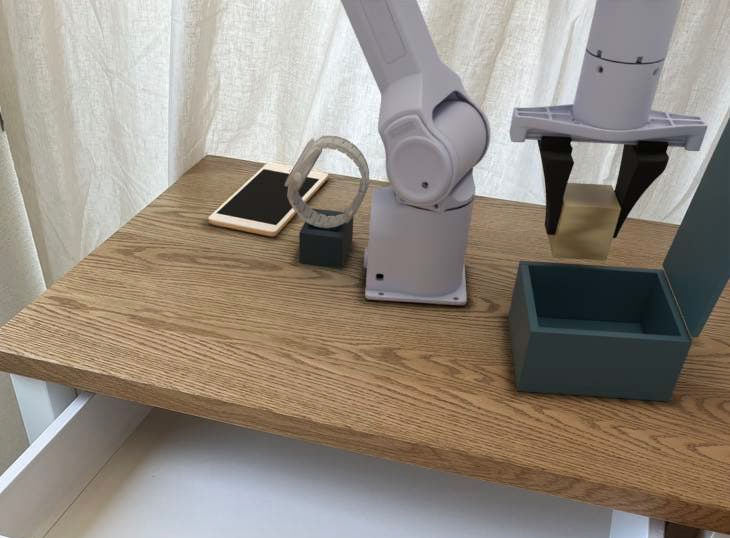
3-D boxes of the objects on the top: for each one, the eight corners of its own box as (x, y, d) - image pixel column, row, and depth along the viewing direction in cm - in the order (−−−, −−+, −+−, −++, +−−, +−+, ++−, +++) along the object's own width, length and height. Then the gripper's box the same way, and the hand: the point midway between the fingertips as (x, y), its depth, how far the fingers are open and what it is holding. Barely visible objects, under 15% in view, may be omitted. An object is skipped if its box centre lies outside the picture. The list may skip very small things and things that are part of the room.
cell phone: (329, 178, 96) (329, 173, 96) (274, 237, 86) (274, 231, 85) (267, 167, 98) (267, 161, 98) (207, 223, 87) (206, 218, 87)
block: (552, 257, 70) (564, 205, 66) (546, 233, 73) (558, 182, 70) (606, 260, 69) (621, 208, 66) (598, 236, 73) (612, 184, 69)
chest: (516, 391, 68) (530, 331, 64) (507, 317, 76) (519, 260, 72) (668, 401, 68) (692, 341, 64) (643, 326, 76) (663, 269, 71)
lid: (780, 163, 54) (789, 165, 54) (735, 102, 62) (743, 103, 62) (690, 337, 63) (698, 338, 63) (661, 264, 71) (668, 265, 71)
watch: (293, 235, 86) (292, 124, 79) (369, 244, 85) (376, 133, 77) (280, 260, 83) (277, 147, 75) (358, 270, 82) (365, 156, 74)
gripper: (712, 40, 63) (657, 214, 73) (520, 31, 63) (491, 206, 73) (737, 70, 58) (674, 253, 68) (529, 60, 58) (497, 243, 68)
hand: (580, 231), depth 70 cm, fingers closed on block, 4 cm apart
